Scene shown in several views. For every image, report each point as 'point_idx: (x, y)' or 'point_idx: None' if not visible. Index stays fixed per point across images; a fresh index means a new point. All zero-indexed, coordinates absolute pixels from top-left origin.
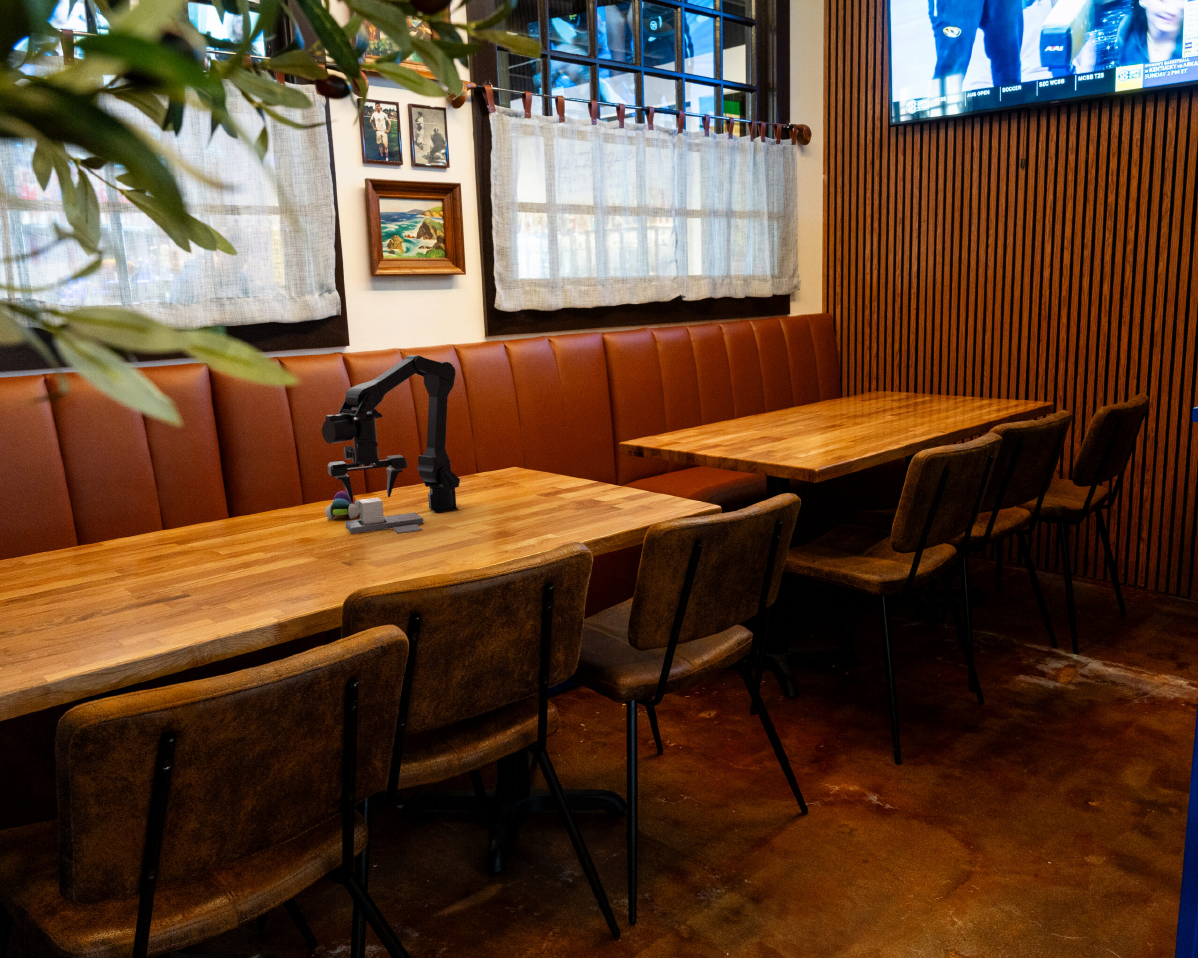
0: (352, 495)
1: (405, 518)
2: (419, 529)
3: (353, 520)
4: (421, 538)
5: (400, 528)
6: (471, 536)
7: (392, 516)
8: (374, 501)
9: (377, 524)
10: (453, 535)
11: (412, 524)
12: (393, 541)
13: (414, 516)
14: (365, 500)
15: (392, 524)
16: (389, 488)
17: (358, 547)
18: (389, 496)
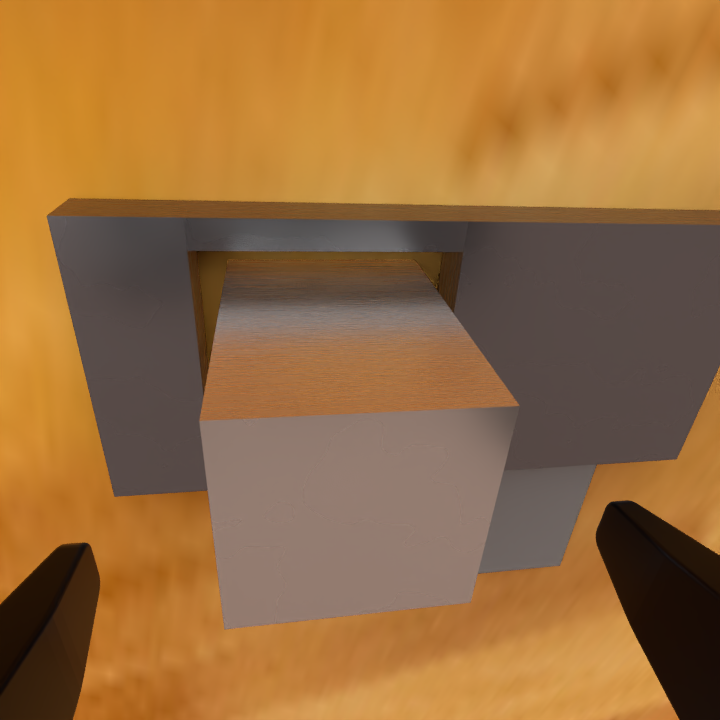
0: (67, 718)
1: (590, 406)
2: (546, 564)
3: (150, 218)
4: (477, 668)
5: None
6: (645, 694)
7: (551, 274)
8: (385, 596)
9: None
10: (607, 667)
11: None
12: (346, 674)
13: (675, 378)
14: (297, 505)
15: None
16: (672, 691)
17: (157, 710)
18: (609, 549)
